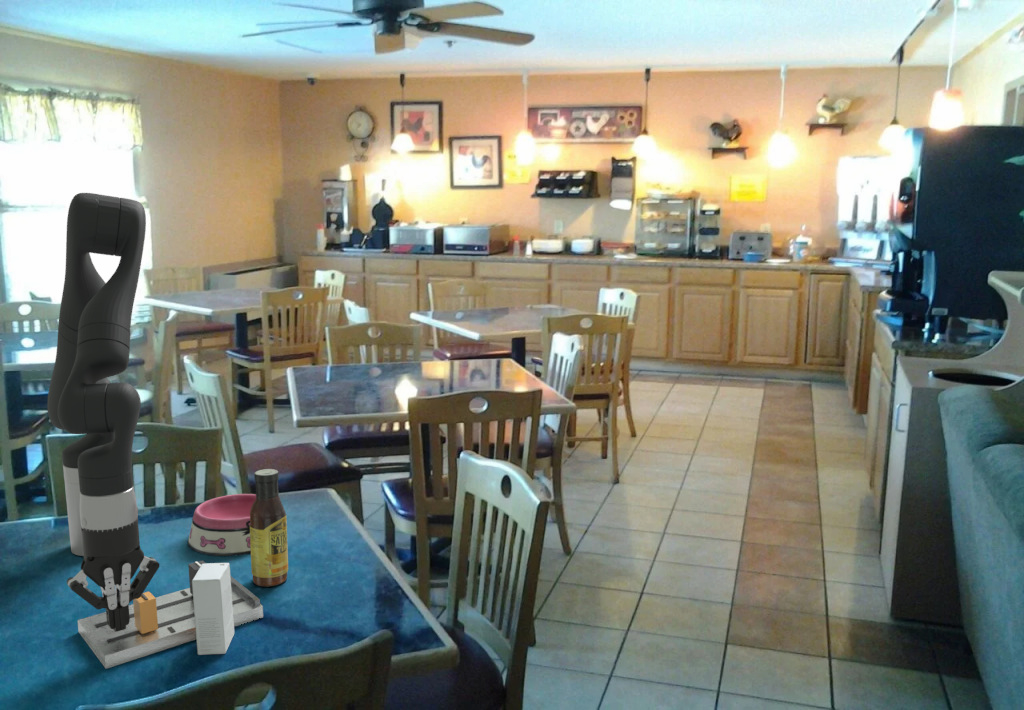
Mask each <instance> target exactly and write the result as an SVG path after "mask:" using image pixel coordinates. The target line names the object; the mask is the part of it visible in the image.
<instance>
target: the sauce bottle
mask: <svg viewBox="0 0 1024 710" xmlns="http://www.w3.org/2000/svg"><path fill="white" fill-rule="evenodd" d="M253 475H254V476H253V477H254V482H255V494H256V500H255V502H254V503H253V504H252V507H251V510H250V544H251V553H250V564H251V565H250V567H251V568H250V569H251V574H252V581H253V583H254V584H255V585H256V586H259V587H266V588H268V587H275V586H278V585H281V584H283V583H284V582H286V580H287V578H288V571H289V549H288V525H287V524H288V523H287V521H288V519H287V513H286V510H285V508H284V506H283V503H282V500H281V498H280V495H279V494H280V493H279V481H278V480H279V478H280V475H279V471H278V470H277V469H274V468H265V469H259V470H257V471H255V472H254V473H253Z"/></svg>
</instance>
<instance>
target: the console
mask: <svg viewBox="0 0 1024 710" xmlns="http://www.w3.org/2000/svg"><path fill="white" fill-rule="evenodd" d="M230 578H231V592H232V606H233V619H234V628H235V627H238V626H241V624H242V625H244V623H245V624H247V622H248V623H250V622H254V621H256V620H257V621H258V620H260V619H263V618H264V606H263V605H262V604H261V600H260V598H259V597H257V596H256V595H255V594H254V593H253V592H252V591H250V590H249V589H248V588H246V587H245V586H244V585H243V584H242V583H240V582H239V581H238V580H237V579H235V578H234V577H233V576H232V575H230ZM155 598H156V607H157V620H158V629H157V630H154V631H150V632H147V633H144V634H141V633H140V631H139V630H138V629H137V628H136V627H135V617H134V605H133V603H132V604H129V618H130V621H129V624H128V625H126V629H124V630H120V631H117V632H115V631H114V630H113V629H111V628H110V627H109V626H108V624H107V618H106V611H105V612H101V613H97V614H93V615H92V616H91V615H90V616H87V617H84V618H80V619H78V620H77V628H78V629H77V630H78V633H79V634H80V636H81V638H82V639H83V640H84V641H85V643H86V644H87V645H88V647H89V649H90V650H91V651H92V652H93V654H94V655H95V656H96V658H97V659H98V660H99V662H100V663H101V665H103V667H104V668H105V669H106V670H107V669H110V668H112V667H116V666H119V665H122V664H125V663H128V662H131V661H132V662H133V661H134V660H138V659H140V658H144V657H147V656H149V655H150V656H151V655H153V654H155V653H158V652H161V651H165V650H167V649H171V648H174V647H177V646H180V645H182V644H185V643H189V642H192V641H195V640H196V641H197V639H196V626H195V614H194V601H193V595H192V594H191V593H190V587H188V588H185V589H181V590H176V591H174V592H173V591H172V592H171V593H167V594H164V595H160V596H157V597H155ZM259 618H260V619H259ZM253 620H254V621H253Z"/></svg>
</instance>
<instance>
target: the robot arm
mask: <svg viewBox="0 0 1024 710" xmlns="http://www.w3.org/2000/svg"><path fill="white" fill-rule="evenodd" d="M146 218H147V217H146V210H145V208H144V205H143V204H142V202H139V201H138V200H135V199H132V198H131V199H130V198H126V197H117V196H110V195H105V194H100V193H93V192H80V193H77V194H75V195H74V196H73V198H72V199H71V201H70V203H69V207H68V211H67V219H66V242H65V243H66V245H65V247H66V248H65V273H64V283H63V289H62V294H61V299H60V300H61V302H60V310H59V315H58V326H57V343H56V355H55V362H54V364H53V370H52V375H51V378H50V383H49V387H48V388H49V389H48V394H47V416H48V418H49V420H50V423H51V424H52V425H53V426H54V427H55V428H56V429H59V430H64V431H66V432H67V433H69V434H72V435H84V436H83V437H81V438H80V439H78V440H76V441H74V442H72V443H71V444H69V445H67V446H66V447H64V448H63V450H62V453H61V458H62V461H61V462H62V468H63V479H64V488H65V489H64V490H65V500H66V512H67V521H68V532H69V542H70V552H71V553H72V554H74V555H76V556H81V557H83V560H82V562H81V564H80V571H79V572H78V573H77V574H75V575H74V576H73V577H69V578H67V580H66V584H67V585H66V586H68V587H69V588H70V590H71V591H72V592H74V593H75V594H76V595H78V596H79V597H80V598H81V599H83V600H84V601H85V602H86V603H88V604H89V605H90V606H92V607H94V609H96V610H99V611H100V610H101V609H105V612H106V618H107V624H108V626H109V627H110V628H111V629H113V630H114V631H115V632H117V631H120V630H124V629H126V625H128V624H129V621H130V618H129V605H130V603H131V602H133V600H134V599H138V598H140V596H141V595H142V593H145V590H146V589H147V587H148V586H149V584H150V582H151V581H152V580H153V578H154V576H155V574H156V573H157V572H158V570H159V568H160V563H159V562H158V561H157V560H156V559H155V558H154V557H152V556H149V557H148V556H147V555H145V552H144V551H143V550H142V548H141V544H140V529H139V518H138V514H139V508H138V505H137V504H138V503H137V497H136V493H135V488H134V478H133V466H132V462H133V461H132V459H133V458H132V457H133V456H132V455H133V445H134V439H135V433H136V429H137V425H138V421H139V418H140V414H141V412H140V411H141V407H142V405H141V403H142V401H141V397H140V394H139V392H138V390H137V389H136V388H135V387H134V386H133V385H131V384H130V383H127V382H111V381H110V380H109V378H110V377H114V376H117V375H120V374H122V373H123V372H125V371H126V370H127V368H128V367H129V363H130V350H131V349H130V347H131V330H132V329H131V327H132V325H131V323H132V315H133V308H134V303H135V298H136V294H137V288H138V284H139V278H140V271H141V266H142V259H143V253H144V245H145V239H146V232H147V231H146V227H147V220H146ZM90 254H97V255H103V256H104V255H105V256H115V257H120V259H119V262H118V266H117V268H116V269H115V270H114V273H112V275H111V276H110V278H109V279H108V280H107V282H105V281H104V279H103V278H102V276H101V275H100V273H99V272H98V271H97V269H96V267H95V265H94V262H93V259H92V257H91V255H90ZM138 569H139V571H138ZM137 571H138V573H137ZM136 573H137V574H136ZM134 575H135V577H134ZM87 577H88V578H89V579H90V580H91V581H93V582H94V583H95V584H96V585H97V586H98V587H100V590H101V592H102V593H101V594H102V596H98V595H97V594H96V593H94V592H93V591H92V590H91V589H90V588H88V586H89V582H88V581H87ZM133 577H134V579H133ZM132 579H133V580H132ZM131 580H132V582H131Z"/></svg>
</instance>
